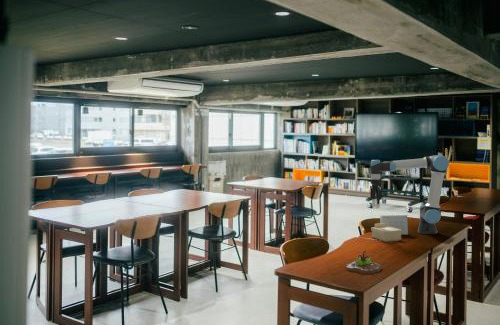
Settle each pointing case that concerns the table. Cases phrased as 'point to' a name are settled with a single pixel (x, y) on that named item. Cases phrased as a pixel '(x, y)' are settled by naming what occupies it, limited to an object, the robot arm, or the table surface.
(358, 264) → the plant
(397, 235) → the mailer base
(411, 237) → the table surface
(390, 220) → the skincare box
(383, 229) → the lid
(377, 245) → the table surface
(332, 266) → the table surface
